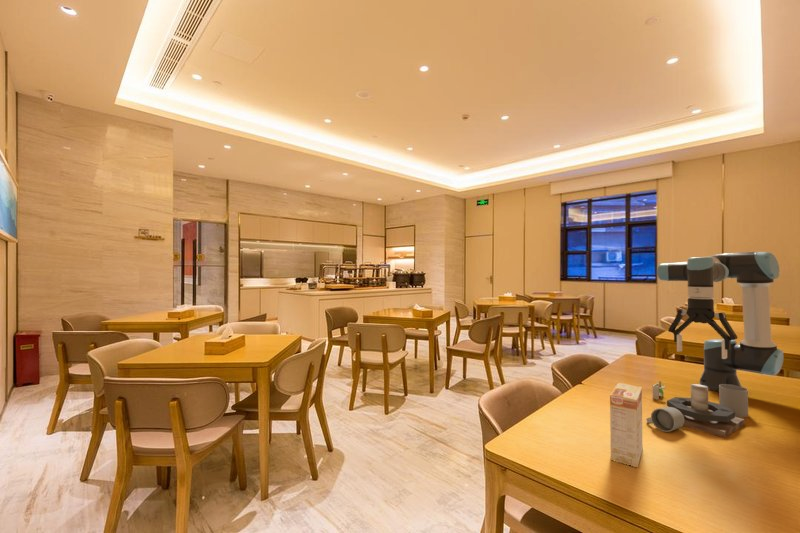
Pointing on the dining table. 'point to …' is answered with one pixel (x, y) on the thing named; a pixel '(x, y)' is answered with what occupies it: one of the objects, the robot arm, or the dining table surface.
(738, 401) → the cup
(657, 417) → the ceramic mug
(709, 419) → the ring
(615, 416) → the coffeecake box
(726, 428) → the pipe stand
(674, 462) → the dining table surface
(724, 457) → the dining table surface
